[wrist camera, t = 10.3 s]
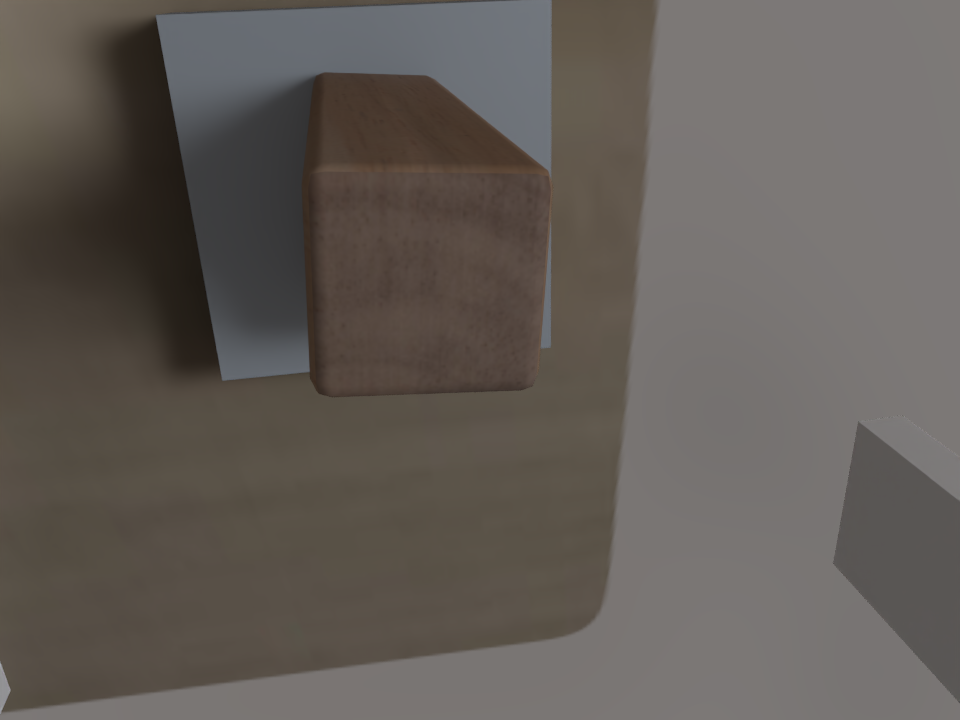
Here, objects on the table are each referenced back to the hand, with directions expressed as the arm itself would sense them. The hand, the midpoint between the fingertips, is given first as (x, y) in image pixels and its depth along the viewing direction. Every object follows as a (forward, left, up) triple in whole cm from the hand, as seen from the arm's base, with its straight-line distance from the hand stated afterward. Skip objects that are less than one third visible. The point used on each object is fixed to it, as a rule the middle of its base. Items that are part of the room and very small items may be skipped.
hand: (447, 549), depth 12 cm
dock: (0, 0, -25) cm, 25 cm away
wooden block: (0, 0, -22) cm, 22 cm away
